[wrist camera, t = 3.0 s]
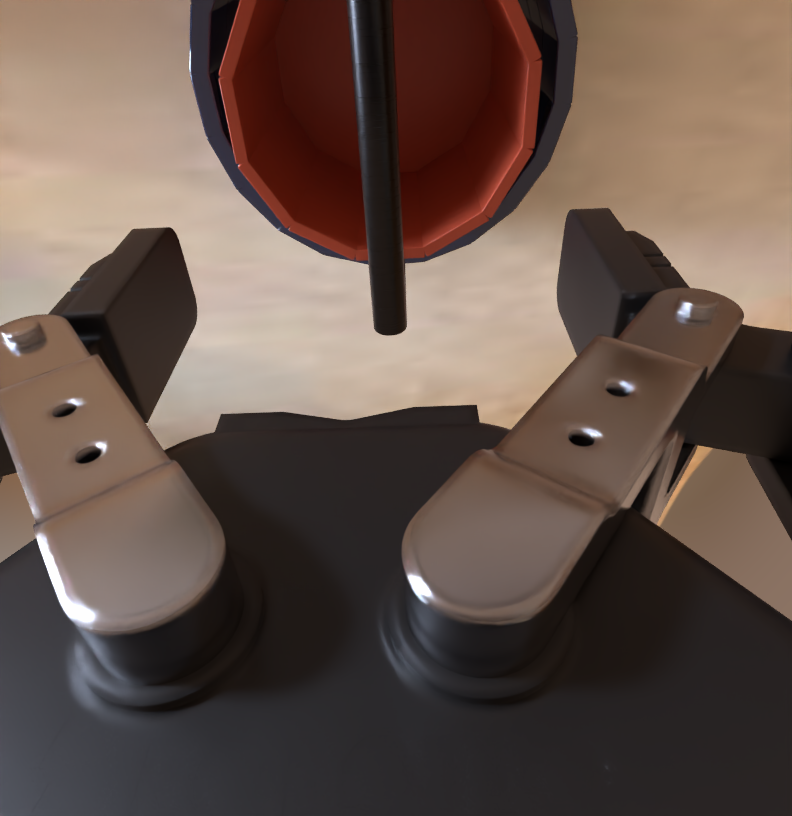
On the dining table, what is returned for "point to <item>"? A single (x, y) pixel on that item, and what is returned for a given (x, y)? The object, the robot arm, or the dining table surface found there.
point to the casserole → (557, 44)
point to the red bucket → (381, 122)
